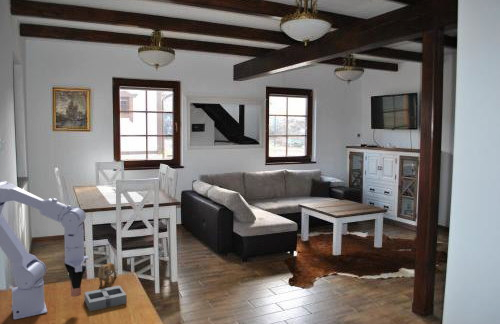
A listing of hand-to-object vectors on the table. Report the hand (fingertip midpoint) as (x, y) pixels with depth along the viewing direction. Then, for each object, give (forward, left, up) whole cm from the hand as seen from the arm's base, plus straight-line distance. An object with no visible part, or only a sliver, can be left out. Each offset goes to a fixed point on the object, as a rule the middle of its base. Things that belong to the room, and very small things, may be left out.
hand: (75, 285), depth 135 cm
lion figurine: (+14, +17, -9) cm, 24 cm away
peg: (0, 0, -3) cm, 3 cm away
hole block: (+10, +1, -8) cm, 13 cm away
